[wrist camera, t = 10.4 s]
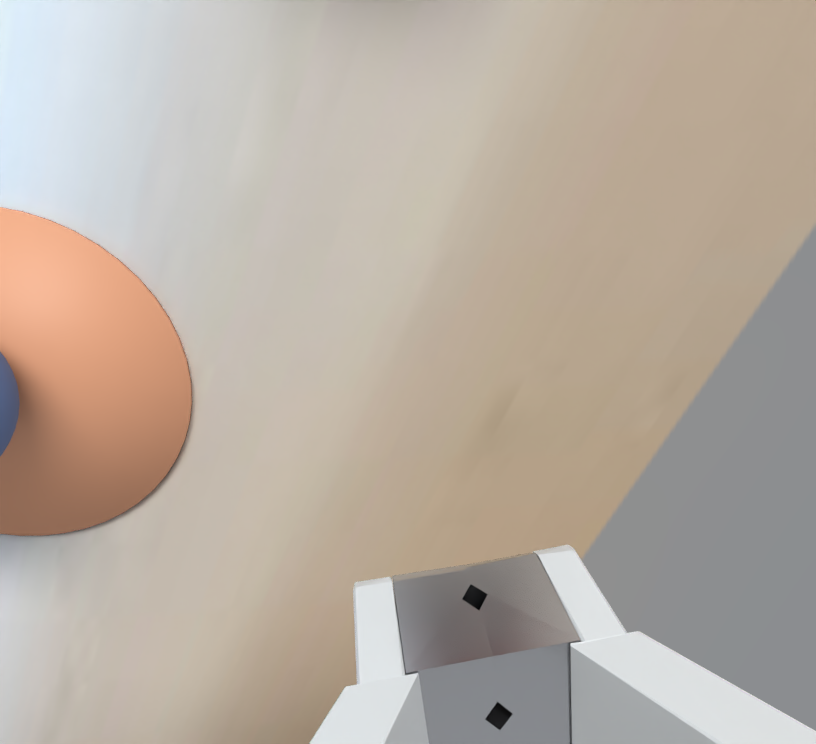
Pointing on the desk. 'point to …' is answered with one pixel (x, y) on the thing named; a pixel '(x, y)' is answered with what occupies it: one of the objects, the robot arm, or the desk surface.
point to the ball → (7, 403)
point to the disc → (83, 381)
